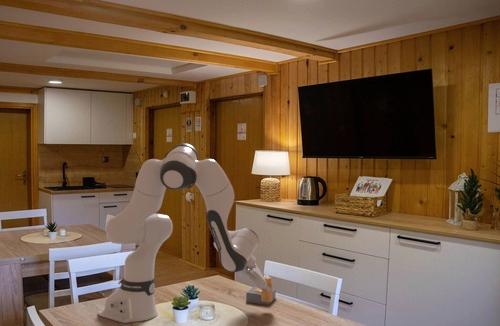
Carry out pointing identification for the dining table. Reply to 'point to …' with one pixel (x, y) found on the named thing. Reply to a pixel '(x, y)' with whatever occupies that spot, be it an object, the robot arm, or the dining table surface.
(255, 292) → the grey square platform
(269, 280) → the orange bottle
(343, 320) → the dining table surface
